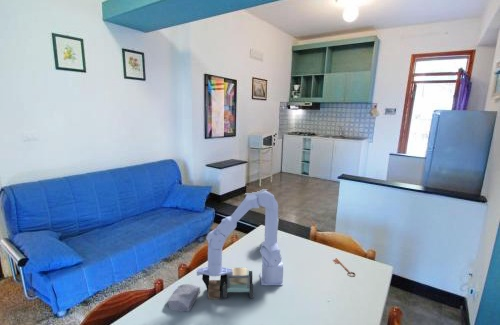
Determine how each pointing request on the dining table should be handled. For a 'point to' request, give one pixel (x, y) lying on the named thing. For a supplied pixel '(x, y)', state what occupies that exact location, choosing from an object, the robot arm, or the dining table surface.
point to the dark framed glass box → (239, 282)
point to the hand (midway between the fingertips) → (214, 290)
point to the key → (343, 266)
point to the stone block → (184, 297)
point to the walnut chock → (214, 289)
